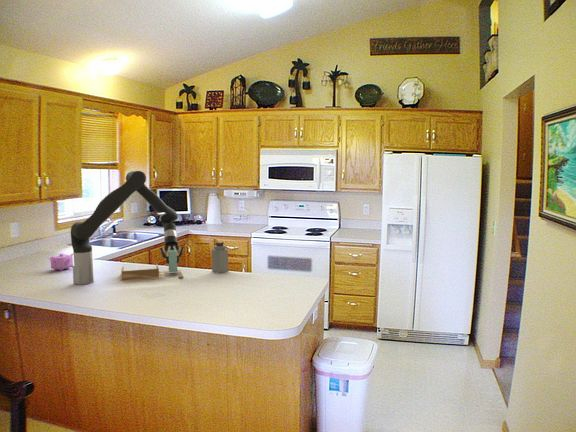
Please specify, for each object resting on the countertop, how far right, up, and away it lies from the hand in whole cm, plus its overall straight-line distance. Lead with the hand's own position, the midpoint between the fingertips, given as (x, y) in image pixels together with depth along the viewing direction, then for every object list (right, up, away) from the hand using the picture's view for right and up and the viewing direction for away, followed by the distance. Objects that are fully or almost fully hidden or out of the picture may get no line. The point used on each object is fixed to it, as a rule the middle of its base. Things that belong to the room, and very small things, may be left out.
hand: (173, 262), depth 256 cm
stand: (-12, -8, -1) cm, 15 cm away
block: (-1, -5, +2) cm, 6 cm away
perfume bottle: (+25, -7, +13) cm, 29 cm away
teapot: (-73, -6, +19) cm, 75 cm away
